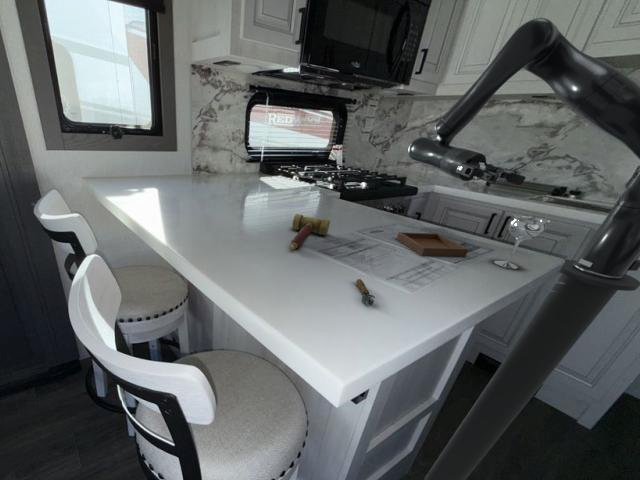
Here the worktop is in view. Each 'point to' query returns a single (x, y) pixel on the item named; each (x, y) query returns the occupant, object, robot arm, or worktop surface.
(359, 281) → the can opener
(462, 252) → the tray
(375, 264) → the worktop surface
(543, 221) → the wineglass
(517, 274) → the worktop surface
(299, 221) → the gavel
